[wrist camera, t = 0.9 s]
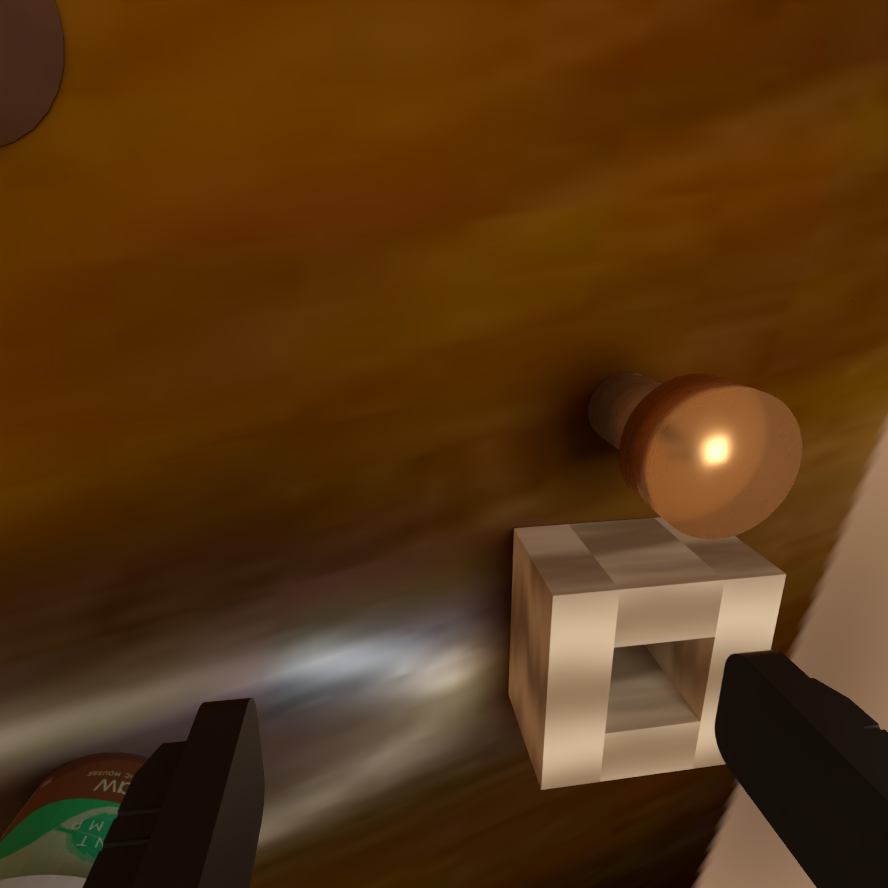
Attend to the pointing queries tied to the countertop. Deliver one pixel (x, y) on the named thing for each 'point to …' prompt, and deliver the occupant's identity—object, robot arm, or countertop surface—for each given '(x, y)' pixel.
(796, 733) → the robot arm
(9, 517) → the countertop surface
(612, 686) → the birch block
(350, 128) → the countertop surface
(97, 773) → the food container
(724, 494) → the copper pin
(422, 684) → the countertop surface
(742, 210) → the countertop surface
